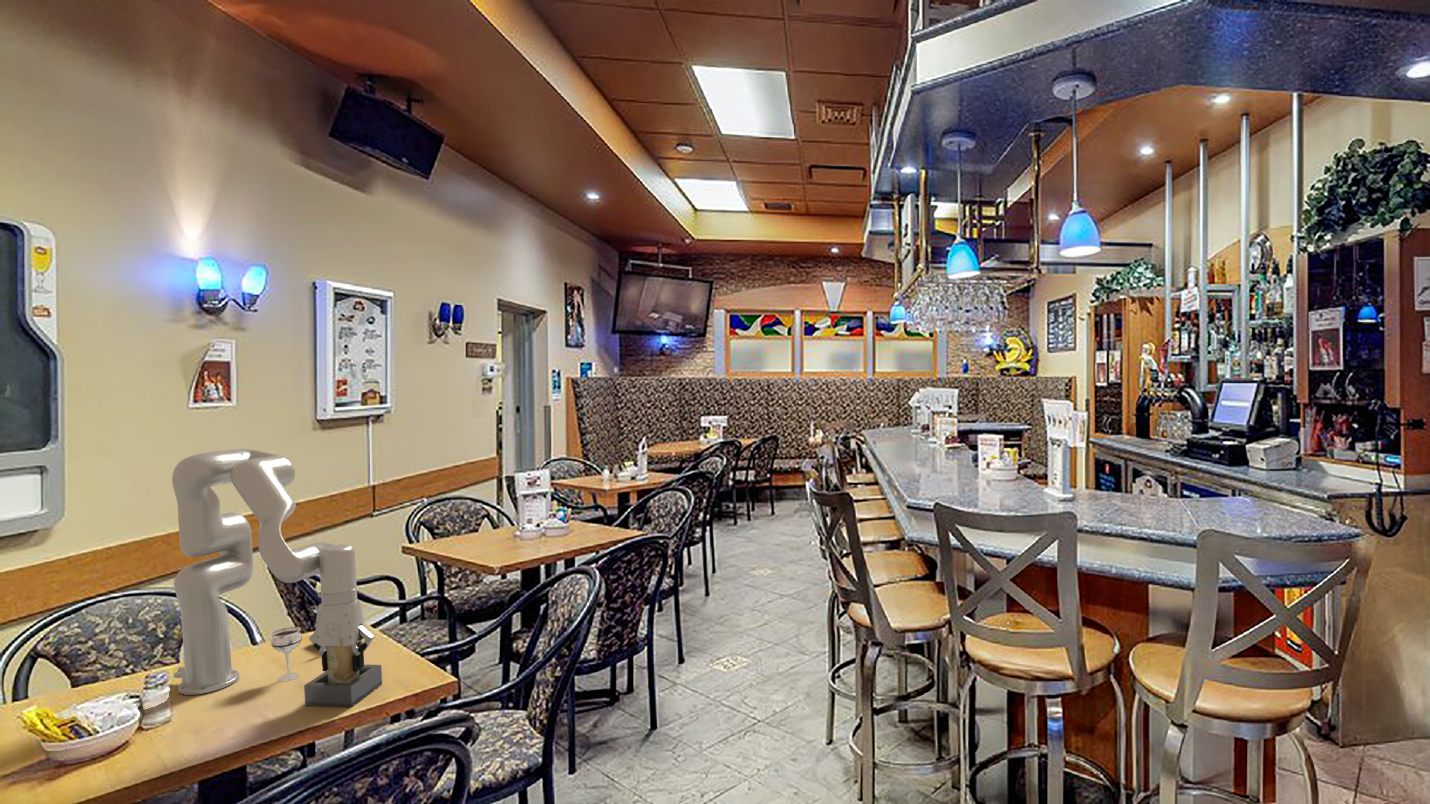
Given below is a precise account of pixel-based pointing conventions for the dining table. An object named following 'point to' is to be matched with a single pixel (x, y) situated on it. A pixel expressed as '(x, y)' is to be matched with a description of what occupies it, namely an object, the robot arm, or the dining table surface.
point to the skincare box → (340, 664)
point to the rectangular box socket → (342, 688)
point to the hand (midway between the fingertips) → (343, 668)
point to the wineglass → (286, 646)
